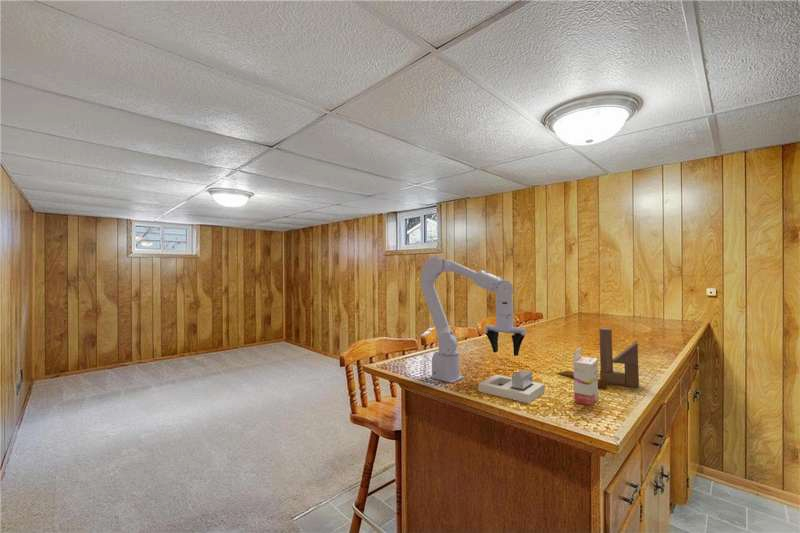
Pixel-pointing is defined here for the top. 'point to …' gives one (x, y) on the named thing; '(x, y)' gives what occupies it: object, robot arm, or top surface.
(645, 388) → the top surface
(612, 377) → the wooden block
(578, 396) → the ink cartridge box
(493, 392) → the light grey flat piece
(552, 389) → the top surface
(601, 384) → the primitive tool
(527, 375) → the tall grey block
